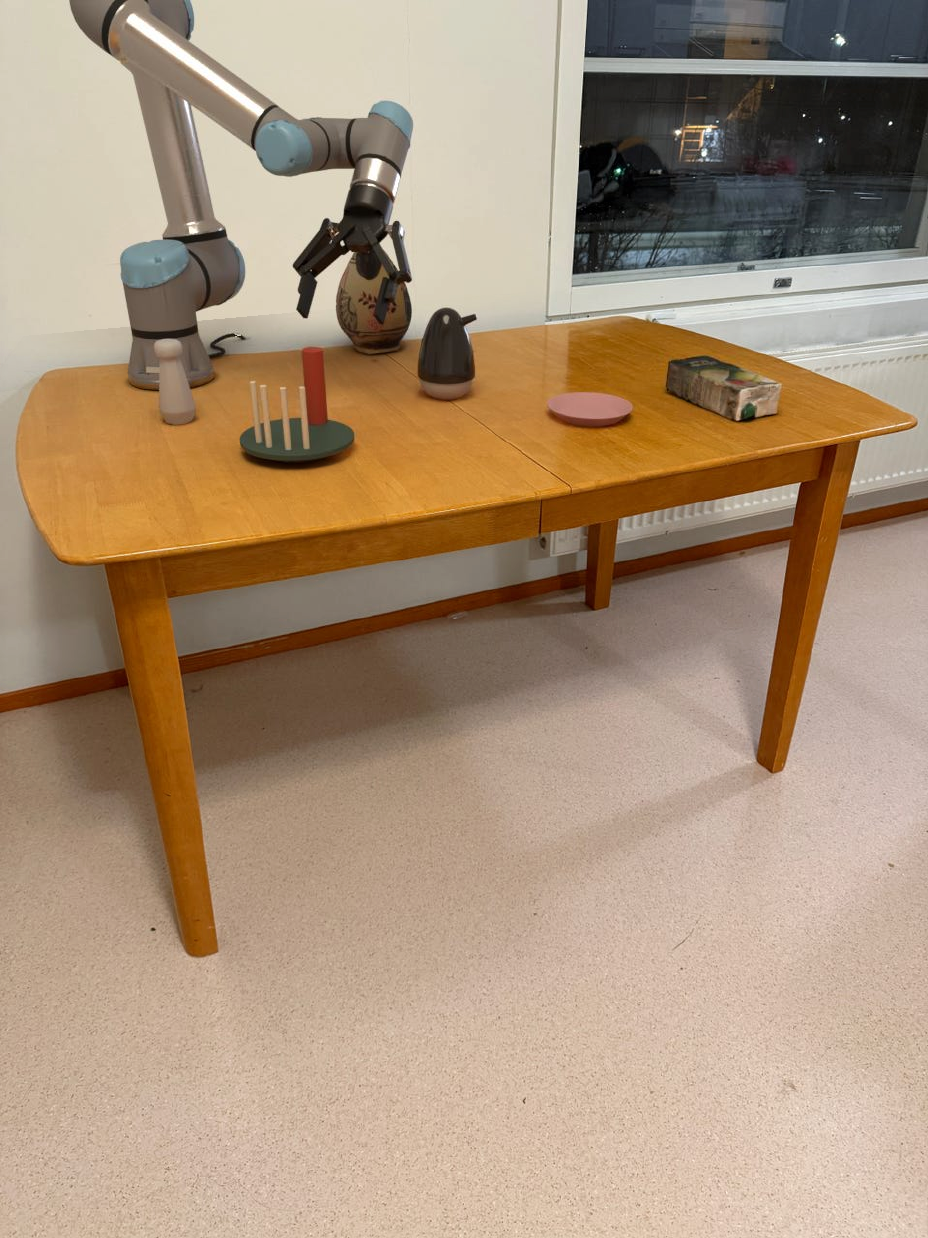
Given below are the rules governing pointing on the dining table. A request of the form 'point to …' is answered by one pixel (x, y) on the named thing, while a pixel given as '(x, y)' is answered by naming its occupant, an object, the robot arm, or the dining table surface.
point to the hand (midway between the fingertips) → (339, 316)
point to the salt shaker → (173, 384)
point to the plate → (589, 408)
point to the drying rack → (297, 420)
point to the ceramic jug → (371, 306)
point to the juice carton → (723, 387)
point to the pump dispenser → (446, 355)
